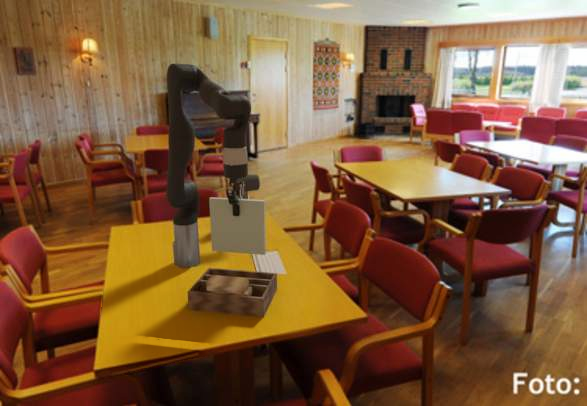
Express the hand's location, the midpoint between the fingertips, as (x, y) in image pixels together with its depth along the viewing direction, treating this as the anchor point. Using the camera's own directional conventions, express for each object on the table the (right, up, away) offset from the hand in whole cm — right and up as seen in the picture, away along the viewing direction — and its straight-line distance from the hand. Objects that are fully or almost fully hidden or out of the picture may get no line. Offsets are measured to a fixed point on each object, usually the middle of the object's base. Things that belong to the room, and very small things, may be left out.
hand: (237, 214), depth 140 cm
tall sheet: (0, -12, +4) cm, 13 cm away
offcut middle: (-1, -26, -4) cm, 26 cm away
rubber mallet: (-3, -13, +58) cm, 60 cm away
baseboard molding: (+8, -23, +27) cm, 36 cm away
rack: (-1, -29, +2) cm, 29 cm away
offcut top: (-2, -23, -4) cm, 23 cm away
